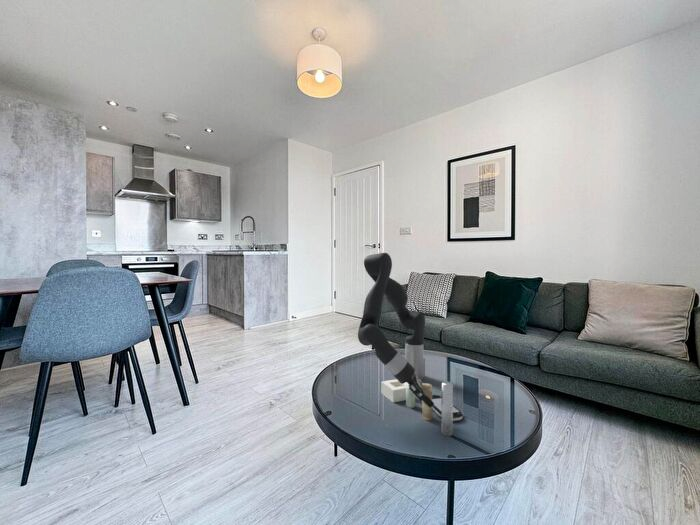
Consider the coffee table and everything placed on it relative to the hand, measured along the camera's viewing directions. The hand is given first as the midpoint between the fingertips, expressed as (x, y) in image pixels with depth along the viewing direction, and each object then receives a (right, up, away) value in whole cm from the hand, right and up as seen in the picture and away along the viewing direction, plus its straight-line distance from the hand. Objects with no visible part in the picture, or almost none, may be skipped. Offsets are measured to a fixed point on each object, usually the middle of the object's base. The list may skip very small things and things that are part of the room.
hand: (430, 400), depth 107 cm
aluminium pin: (+3, -6, -10) cm, 12 cm away
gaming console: (+6, -7, +7) cm, 12 cm away
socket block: (-9, -7, +19) cm, 22 cm away
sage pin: (-5, -7, +10) cm, 13 cm away
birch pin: (-1, -7, 0) cm, 7 cm away
